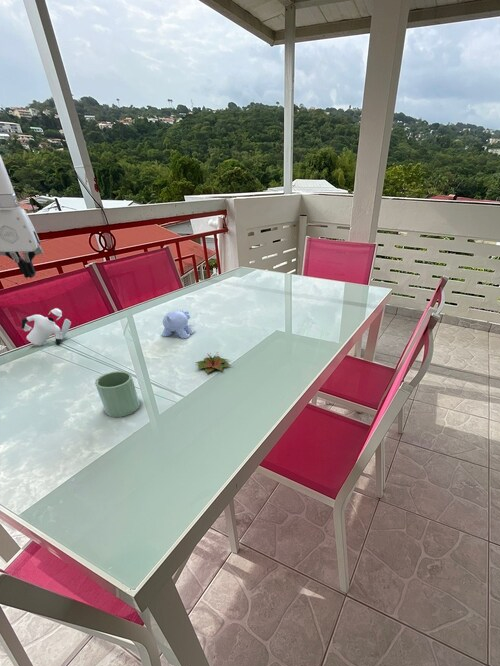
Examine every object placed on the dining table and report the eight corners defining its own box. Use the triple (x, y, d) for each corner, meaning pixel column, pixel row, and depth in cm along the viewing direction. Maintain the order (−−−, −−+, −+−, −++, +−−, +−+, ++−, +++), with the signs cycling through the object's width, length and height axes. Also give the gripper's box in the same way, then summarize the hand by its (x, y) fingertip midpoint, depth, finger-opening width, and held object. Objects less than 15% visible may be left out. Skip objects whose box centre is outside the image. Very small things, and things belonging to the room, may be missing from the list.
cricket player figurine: (58, 350, 125) (82, 320, 124) (47, 356, 115) (73, 323, 114) (22, 327, 119) (47, 295, 118) (8, 332, 110) (34, 297, 109)
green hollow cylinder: (103, 419, 85) (92, 390, 80) (107, 401, 92) (98, 373, 87) (138, 414, 88) (130, 385, 82) (140, 397, 94) (132, 369, 89)
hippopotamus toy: (200, 326, 138) (197, 304, 132) (184, 341, 125) (180, 317, 120) (175, 324, 139) (171, 301, 133) (157, 338, 127) (152, 314, 121)
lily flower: (188, 363, 111) (186, 351, 109) (220, 354, 118) (219, 342, 115) (205, 378, 104) (203, 365, 101) (238, 367, 110) (237, 355, 108)
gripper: (-44, 202, 79) (-7, 281, 89) (29, 204, 83) (56, 279, 93) (-29, 200, 85) (4, 274, 95) (39, 201, 89) (63, 272, 99)
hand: (30, 276), depth 94 cm, fingers closed
